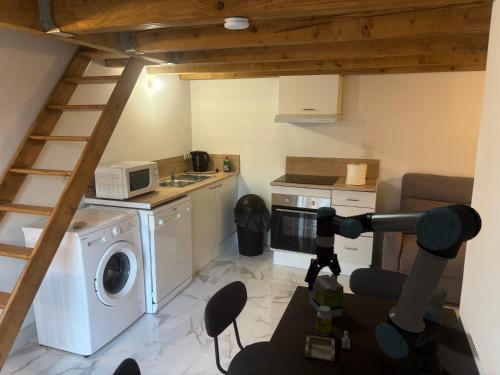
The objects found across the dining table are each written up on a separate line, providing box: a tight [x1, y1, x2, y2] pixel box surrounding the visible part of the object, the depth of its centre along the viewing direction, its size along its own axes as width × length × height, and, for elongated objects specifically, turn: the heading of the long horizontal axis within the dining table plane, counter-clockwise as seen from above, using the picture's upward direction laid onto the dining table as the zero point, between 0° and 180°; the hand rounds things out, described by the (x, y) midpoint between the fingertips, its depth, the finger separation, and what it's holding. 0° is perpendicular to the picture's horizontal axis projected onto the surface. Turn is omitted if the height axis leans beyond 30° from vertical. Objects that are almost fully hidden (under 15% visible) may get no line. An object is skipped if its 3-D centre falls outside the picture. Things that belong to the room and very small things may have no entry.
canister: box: [401, 282, 449, 315], centre depth 165 cm, size 18×18×21 cm
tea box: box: [309, 274, 345, 318], centre depth 177 cm, size 15×10×15 cm
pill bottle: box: [315, 306, 333, 337], centre depth 158 cm, size 6×6×11 cm
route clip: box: [341, 330, 351, 350], centre depth 150 cm, size 3×6×4 cm, turn 168°
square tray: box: [304, 334, 336, 362], centre depth 145 cm, size 11×11×3 cm
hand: (322, 293), depth 156 cm, fingers open, 13 cm apart
